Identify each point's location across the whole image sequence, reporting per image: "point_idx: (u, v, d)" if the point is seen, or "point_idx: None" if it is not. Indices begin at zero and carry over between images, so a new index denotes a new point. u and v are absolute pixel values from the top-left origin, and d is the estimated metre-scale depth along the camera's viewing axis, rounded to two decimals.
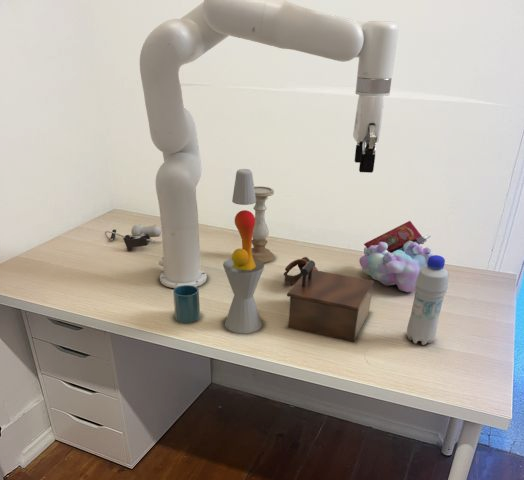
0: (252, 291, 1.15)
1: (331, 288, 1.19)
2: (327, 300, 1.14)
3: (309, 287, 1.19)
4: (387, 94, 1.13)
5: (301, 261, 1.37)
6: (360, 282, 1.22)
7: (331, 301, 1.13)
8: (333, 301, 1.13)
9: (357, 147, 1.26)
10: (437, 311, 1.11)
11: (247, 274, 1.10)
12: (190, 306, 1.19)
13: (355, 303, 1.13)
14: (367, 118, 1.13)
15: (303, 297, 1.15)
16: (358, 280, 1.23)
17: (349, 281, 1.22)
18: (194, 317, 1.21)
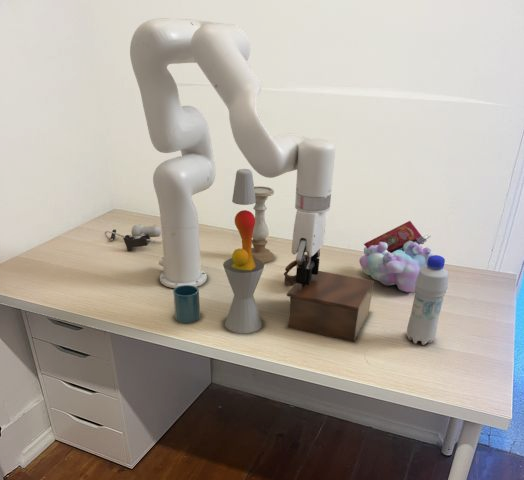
0: (252, 291, 1.15)
1: (331, 288, 1.19)
2: (327, 300, 1.14)
3: (309, 287, 1.19)
4: (322, 211, 1.09)
5: None
6: (360, 282, 1.22)
7: (331, 301, 1.13)
8: (333, 301, 1.13)
9: (306, 259, 1.22)
10: (437, 311, 1.11)
11: (247, 274, 1.10)
12: (190, 306, 1.19)
13: (355, 303, 1.13)
14: (298, 233, 1.11)
15: (303, 297, 1.15)
16: (358, 280, 1.23)
17: (349, 281, 1.22)
18: (194, 317, 1.21)
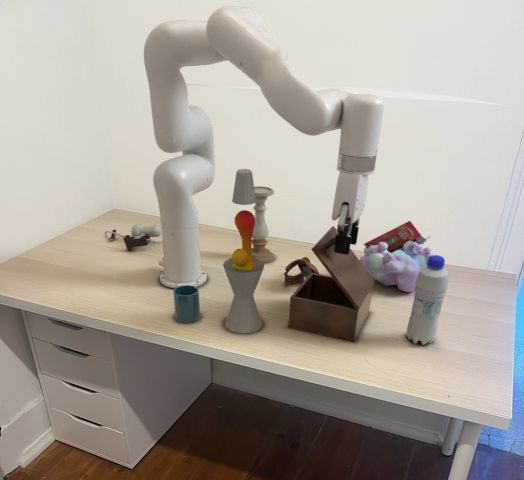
0: (252, 291, 1.15)
1: (345, 267, 1.15)
2: (340, 281, 1.10)
3: (330, 253, 1.13)
4: (367, 173, 1.02)
5: (301, 261, 1.37)
6: (366, 276, 1.21)
7: (343, 284, 1.10)
8: (344, 286, 1.11)
9: None
10: (437, 311, 1.11)
11: (247, 274, 1.10)
12: (190, 306, 1.19)
13: (358, 300, 1.12)
14: (340, 196, 1.04)
15: (324, 262, 1.09)
16: (365, 272, 1.21)
17: (359, 268, 1.20)
18: (194, 317, 1.21)
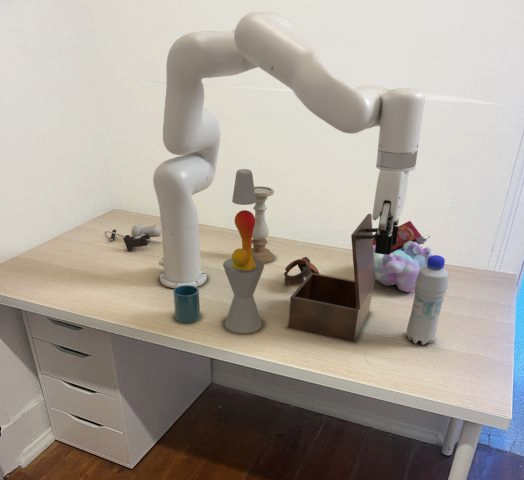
0: (252, 291, 1.15)
1: (365, 263, 1.13)
2: (358, 277, 1.08)
3: (361, 244, 1.09)
4: (409, 169, 0.99)
5: (301, 261, 1.37)
6: (372, 275, 1.20)
7: (358, 281, 1.09)
8: (359, 283, 1.09)
9: None
10: (437, 311, 1.11)
11: (247, 274, 1.10)
12: (190, 306, 1.19)
13: (361, 300, 1.12)
14: (382, 195, 1.00)
15: (355, 253, 1.06)
16: (373, 271, 1.20)
17: (371, 266, 1.18)
18: (194, 317, 1.21)
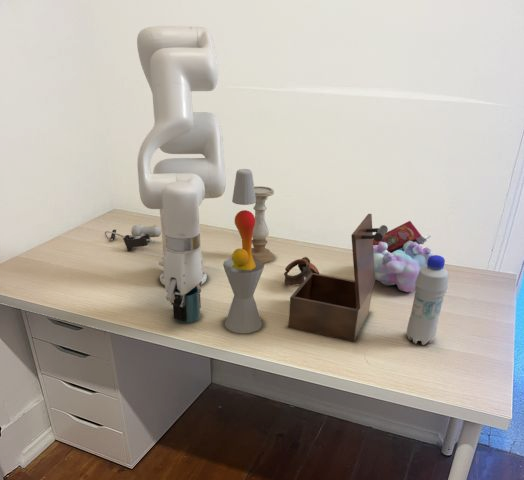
0: (252, 291, 1.15)
1: (365, 263, 1.13)
2: (358, 277, 1.08)
3: (362, 244, 1.09)
4: (190, 251, 1.12)
5: (301, 261, 1.37)
6: (372, 275, 1.20)
7: (358, 281, 1.09)
8: (359, 283, 1.09)
9: None
10: (437, 311, 1.11)
11: (247, 274, 1.10)
12: (190, 306, 1.19)
13: (361, 300, 1.12)
14: (168, 272, 1.13)
15: (355, 253, 1.06)
16: (373, 271, 1.20)
17: (371, 266, 1.18)
18: (194, 317, 1.21)
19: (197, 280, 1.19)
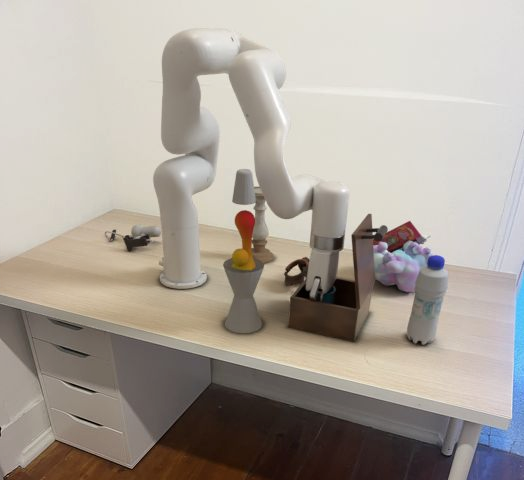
0: (252, 291, 1.15)
1: (365, 263, 1.13)
2: (358, 277, 1.08)
3: (362, 244, 1.09)
4: (336, 250, 1.12)
5: (301, 261, 1.37)
6: (372, 275, 1.20)
7: (358, 281, 1.09)
8: (359, 283, 1.09)
9: None
10: (437, 311, 1.11)
11: (247, 274, 1.10)
12: None
13: (361, 300, 1.12)
14: (313, 271, 1.14)
15: (355, 253, 1.06)
16: (373, 271, 1.20)
17: (371, 266, 1.18)
18: None
19: (334, 279, 1.20)
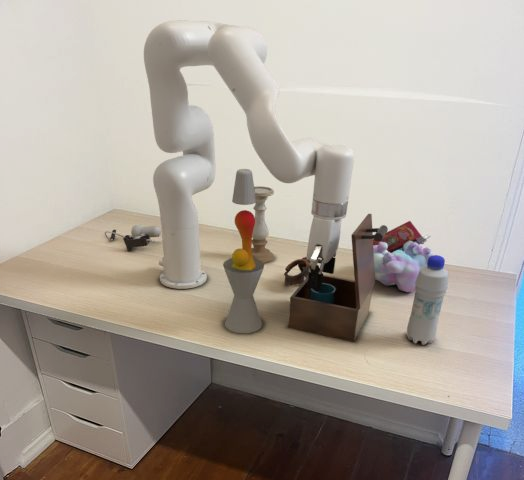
0: (252, 291, 1.15)
1: (365, 263, 1.13)
2: (358, 277, 1.08)
3: (362, 244, 1.09)
4: (339, 218, 1.09)
5: (301, 261, 1.37)
6: (372, 275, 1.20)
7: (358, 281, 1.09)
8: (359, 283, 1.09)
9: (322, 258, 1.22)
10: (437, 311, 1.11)
11: (247, 274, 1.10)
12: None
13: (361, 300, 1.12)
14: (314, 239, 1.10)
15: (355, 253, 1.06)
16: (373, 271, 1.20)
17: (371, 266, 1.18)
18: None
19: (335, 249, 1.17)
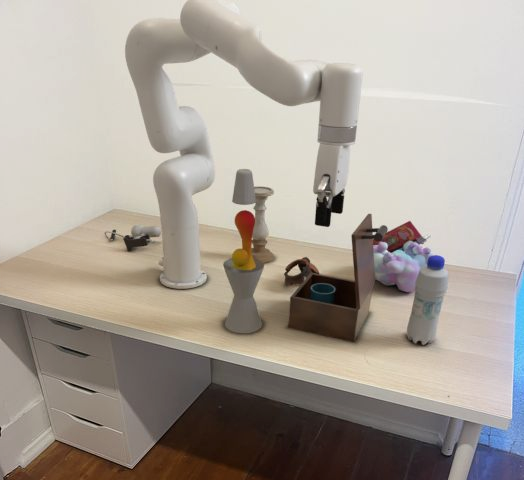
0: (252, 291, 1.15)
1: (365, 263, 1.13)
2: (358, 277, 1.08)
3: (362, 244, 1.09)
4: (347, 144, 1.01)
5: (301, 261, 1.37)
6: (372, 275, 1.20)
7: (358, 281, 1.09)
8: (359, 283, 1.09)
9: None
10: (437, 311, 1.11)
11: (247, 274, 1.10)
12: None
13: (361, 300, 1.12)
14: (321, 168, 1.02)
15: (355, 253, 1.06)
16: (373, 271, 1.20)
17: (371, 266, 1.18)
18: None
19: (344, 183, 1.09)
